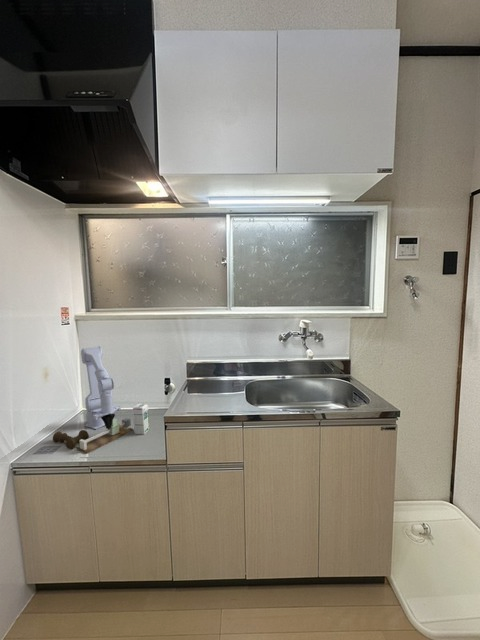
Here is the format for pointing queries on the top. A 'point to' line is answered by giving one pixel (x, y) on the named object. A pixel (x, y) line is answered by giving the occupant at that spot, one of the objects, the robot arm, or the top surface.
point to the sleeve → (114, 427)
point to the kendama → (70, 438)
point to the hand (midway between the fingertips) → (108, 428)
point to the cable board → (104, 440)
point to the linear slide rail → (125, 424)
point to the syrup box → (141, 418)
